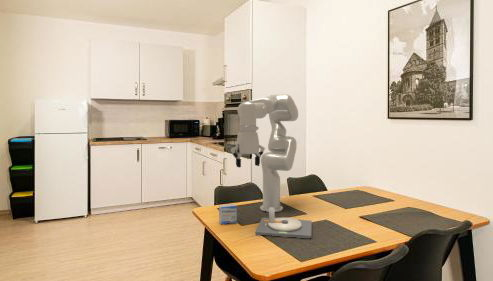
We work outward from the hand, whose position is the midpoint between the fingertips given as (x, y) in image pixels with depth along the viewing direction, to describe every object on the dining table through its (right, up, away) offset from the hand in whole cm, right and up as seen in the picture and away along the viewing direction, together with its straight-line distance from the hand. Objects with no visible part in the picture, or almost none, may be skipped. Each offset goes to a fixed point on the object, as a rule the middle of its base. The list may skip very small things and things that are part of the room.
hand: (248, 166), depth 150 cm
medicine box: (-10, -28, +7) cm, 31 cm away
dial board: (+17, -29, -2) cm, 33 cm away
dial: (+16, -27, -2) cm, 31 cm away
